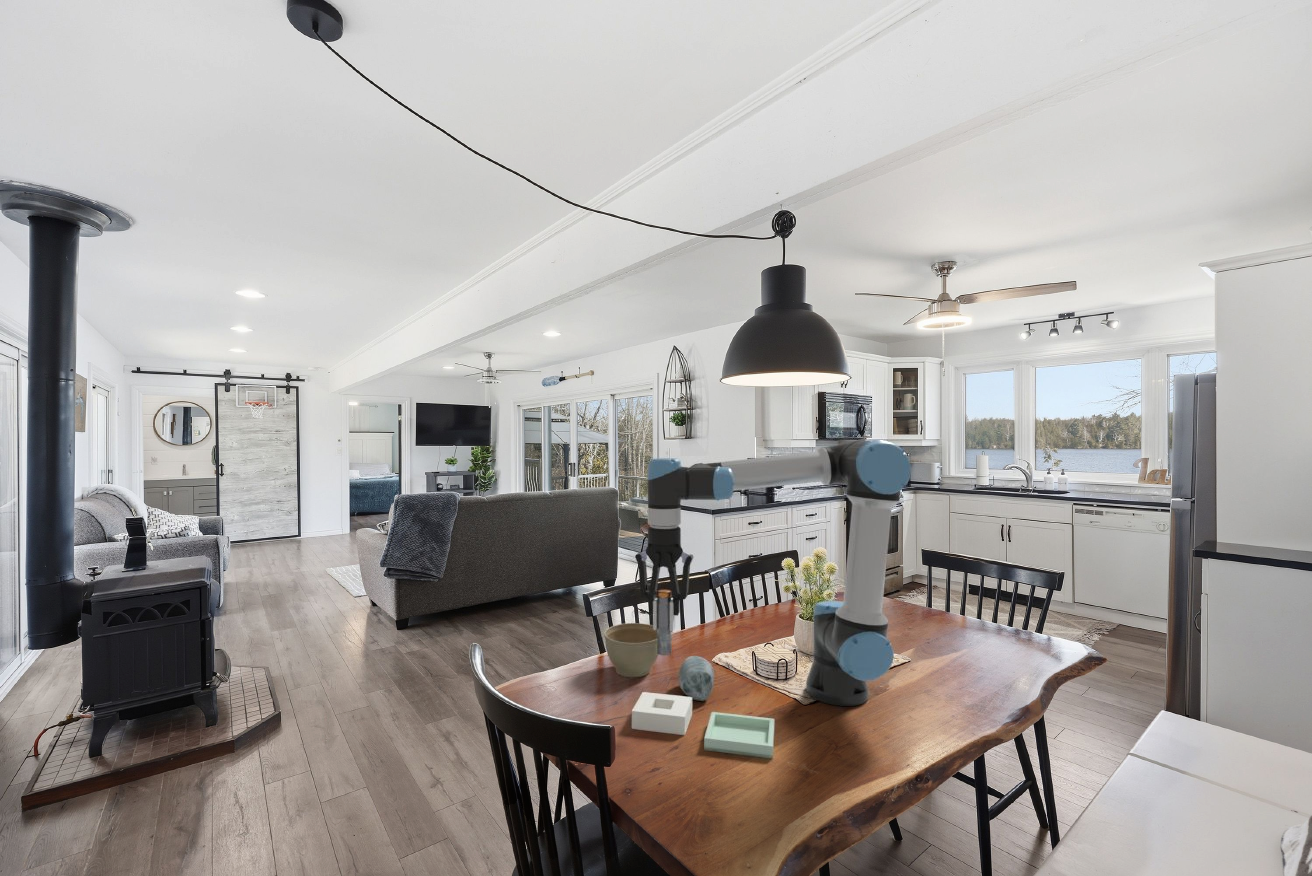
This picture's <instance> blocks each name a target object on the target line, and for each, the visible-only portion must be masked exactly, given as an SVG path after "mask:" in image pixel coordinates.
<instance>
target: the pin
mask: <svg viewBox="0 0 1312 876" xmlns="http://www.w3.org/2000/svg"><path fill="white" fill-rule="evenodd" d="M656 598H657V653H658V654H659V655H658V656H669V655H671V654H672V631H670V601H671V600H672V590H669V589H659V590H657V591H656Z"/></svg>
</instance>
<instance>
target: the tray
mask: <svg viewBox="0 0 1312 876" xmlns="http://www.w3.org/2000/svg"><path fill="white" fill-rule="evenodd" d="M706 727H707V728H706V730H705V734H704V738H703V739H704V740H703V743H704V744H703V745H704V746H703V749H704V750H703V751H710V752H719V753H724V754H725V753H727V754H731V755H732V754H734V755H740V756H749V757H757V758H764V759H771V760H773V758H774V757H773V756H774V744H775V743H774V741H775V740H774V739H775V718H770V717H762V716H754V715H753V716H752V715H744V714H737V713H736V714H734V713H726V712H716V711H711V713H710V717H709V720H708V724H707V726H706Z"/></svg>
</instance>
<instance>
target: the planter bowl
mask: <svg viewBox="0 0 1312 876" xmlns="http://www.w3.org/2000/svg"><path fill="white" fill-rule="evenodd" d="M603 636H604V639H605V640H604V643H605V648H606V649H605V650H606V653H607V656H608V657H609V661H610V662H611V664H612V665H613V667H615V672H616V674H618V675H619V676H622V677H625V678H641V677H645V676H647V675H648V674H650V672H651V669H652V667H653V665H654V664H655V663H656V662H657V659H658V657H659V656H660V655H659V654H658V653H657V630H653V624H648V623H638V622H630V623H629V622H628V623H619V624H615V625H612V626H610V627H607V628H606V629H605V631H604V634H603Z"/></svg>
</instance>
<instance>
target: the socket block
mask: <svg viewBox="0 0 1312 876" xmlns="http://www.w3.org/2000/svg"><path fill="white" fill-rule="evenodd" d="M692 717H693V699H692V697H689V696H683V695H676V694H665V693H656V692H646V691H642V693H641V694H640V696H639V697H638V700H637V701H636V702H635V704H634V706H633V707H632V710H631V729H632V730H638V731H648V732H656V733H662V734H663V733H664V734H670V735H671V734H673V735H679V736H680V735H681V736H686V733H687V730H688V727H689V725H690V721H691V719H692Z"/></svg>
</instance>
